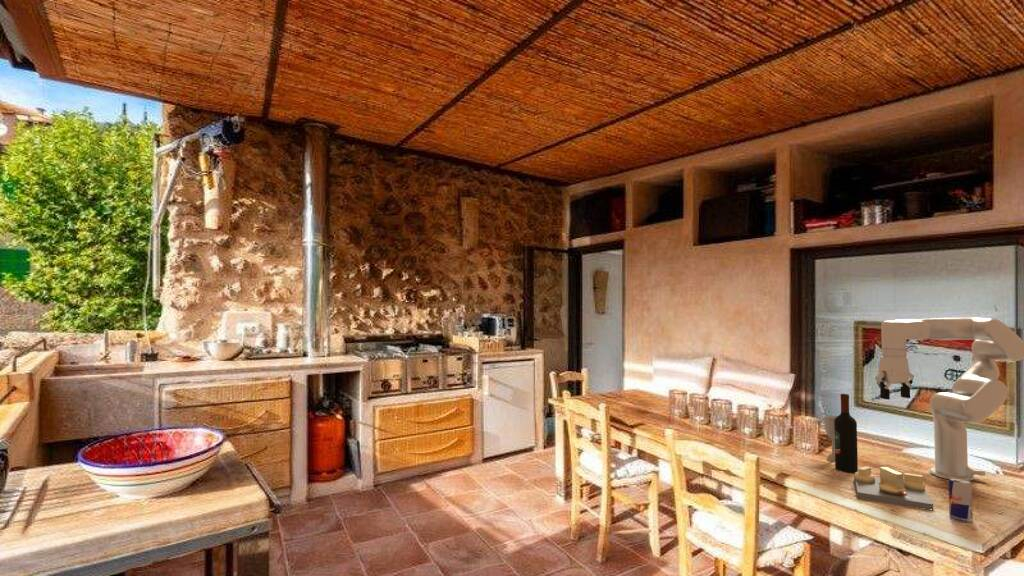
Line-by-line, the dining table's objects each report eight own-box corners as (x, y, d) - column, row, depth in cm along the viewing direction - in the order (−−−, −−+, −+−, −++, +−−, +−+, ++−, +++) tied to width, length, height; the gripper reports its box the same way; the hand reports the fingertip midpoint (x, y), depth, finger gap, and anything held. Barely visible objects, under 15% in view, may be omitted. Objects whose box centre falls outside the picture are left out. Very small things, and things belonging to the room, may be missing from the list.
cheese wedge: (874, 487, 174) (873, 467, 174) (893, 487, 175) (892, 466, 175) (895, 497, 165) (894, 476, 165) (915, 497, 166) (915, 475, 166)
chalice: (838, 457, 215) (837, 415, 215) (847, 462, 208) (846, 419, 208) (820, 457, 215) (819, 415, 216) (829, 462, 209) (828, 418, 209)
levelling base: (922, 490, 178) (921, 472, 178) (933, 510, 160) (932, 490, 161) (854, 479, 188) (853, 462, 188) (857, 498, 171) (857, 479, 171)
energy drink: (944, 516, 156) (943, 477, 157) (960, 515, 157) (959, 476, 157) (961, 523, 151) (960, 483, 151) (977, 522, 152) (976, 483, 152)
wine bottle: (851, 474, 194) (849, 396, 195) (831, 468, 201) (829, 393, 202) (862, 471, 198) (860, 395, 198) (842, 465, 204) (840, 391, 205)
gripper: (902, 351, 196) (903, 395, 196) (866, 352, 192) (867, 397, 192) (922, 353, 189) (923, 398, 188) (885, 354, 185) (886, 401, 184)
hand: (895, 398), depth 190 cm, fingers open, 9 cm apart
